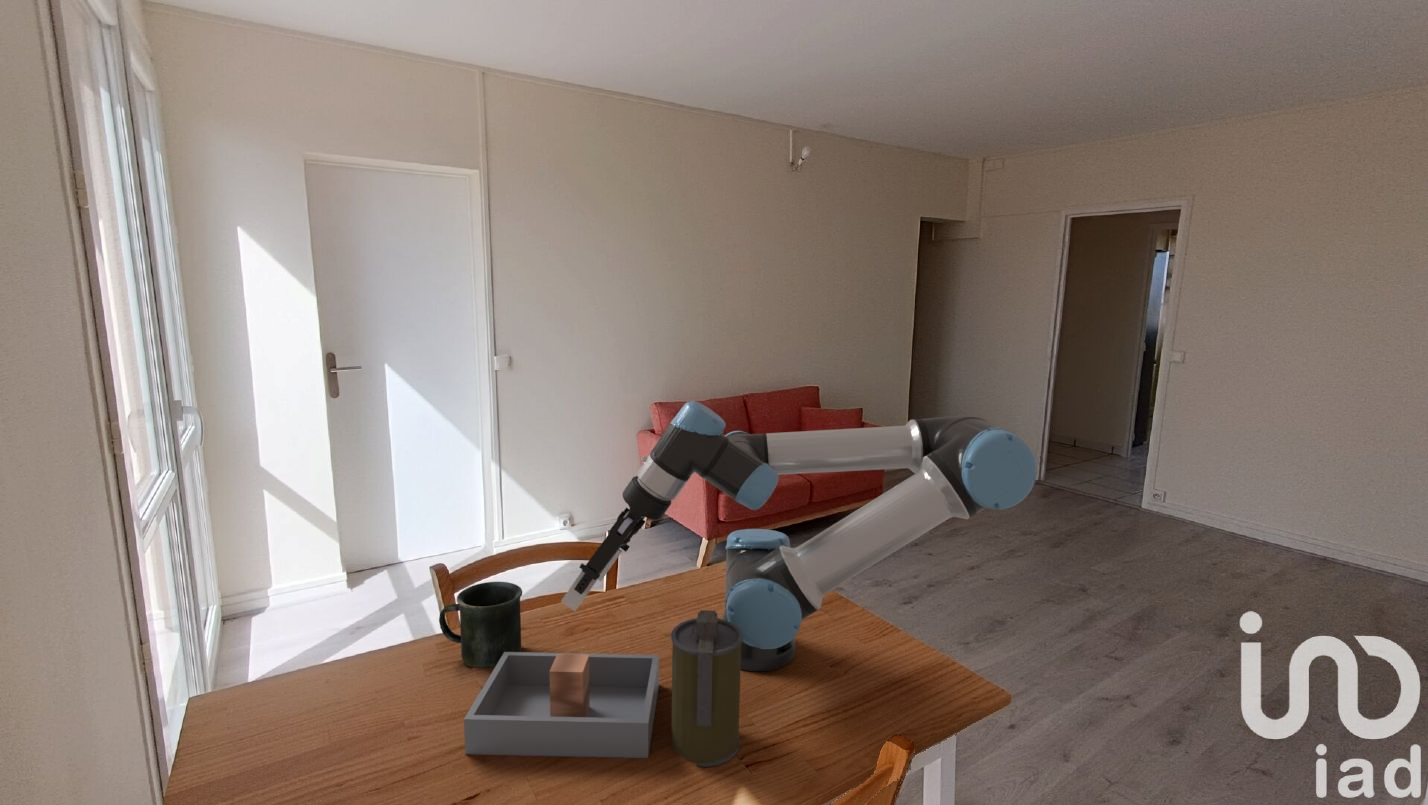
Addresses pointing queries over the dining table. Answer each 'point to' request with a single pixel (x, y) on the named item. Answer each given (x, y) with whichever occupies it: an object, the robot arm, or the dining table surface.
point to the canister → (706, 689)
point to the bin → (522, 725)
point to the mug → (486, 622)
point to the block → (569, 686)
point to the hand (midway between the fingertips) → (582, 590)
